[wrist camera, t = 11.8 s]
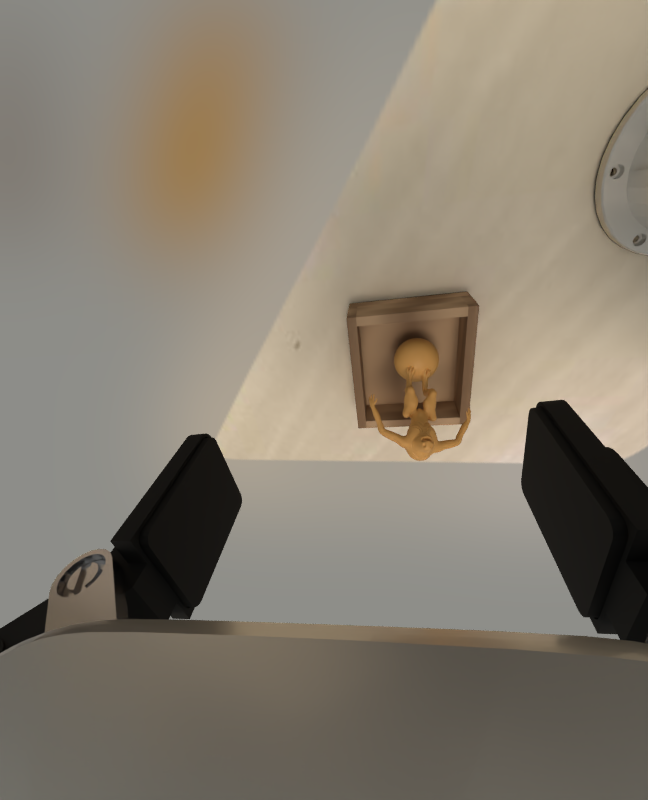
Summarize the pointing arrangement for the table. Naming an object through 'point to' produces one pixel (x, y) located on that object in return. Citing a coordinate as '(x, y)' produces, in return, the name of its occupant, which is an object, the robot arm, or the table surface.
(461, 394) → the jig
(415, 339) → the figurine
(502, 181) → the table surface
